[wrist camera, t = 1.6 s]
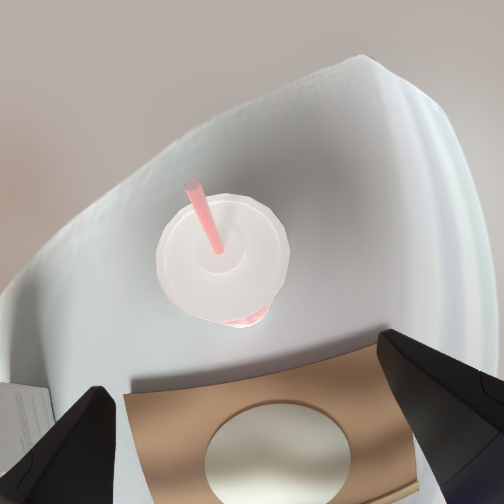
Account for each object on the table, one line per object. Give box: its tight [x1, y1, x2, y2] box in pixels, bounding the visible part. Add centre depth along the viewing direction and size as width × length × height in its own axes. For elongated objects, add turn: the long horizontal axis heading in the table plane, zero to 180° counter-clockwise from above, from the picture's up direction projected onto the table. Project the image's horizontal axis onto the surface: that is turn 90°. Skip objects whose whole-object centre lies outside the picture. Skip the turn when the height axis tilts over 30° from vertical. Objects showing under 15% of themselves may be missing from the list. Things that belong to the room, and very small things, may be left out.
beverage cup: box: [156, 178, 290, 328], centre depth 14 cm, size 6×6×14 cm
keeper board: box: [123, 343, 419, 504], centre depth 15 cm, size 14×20×2 cm
